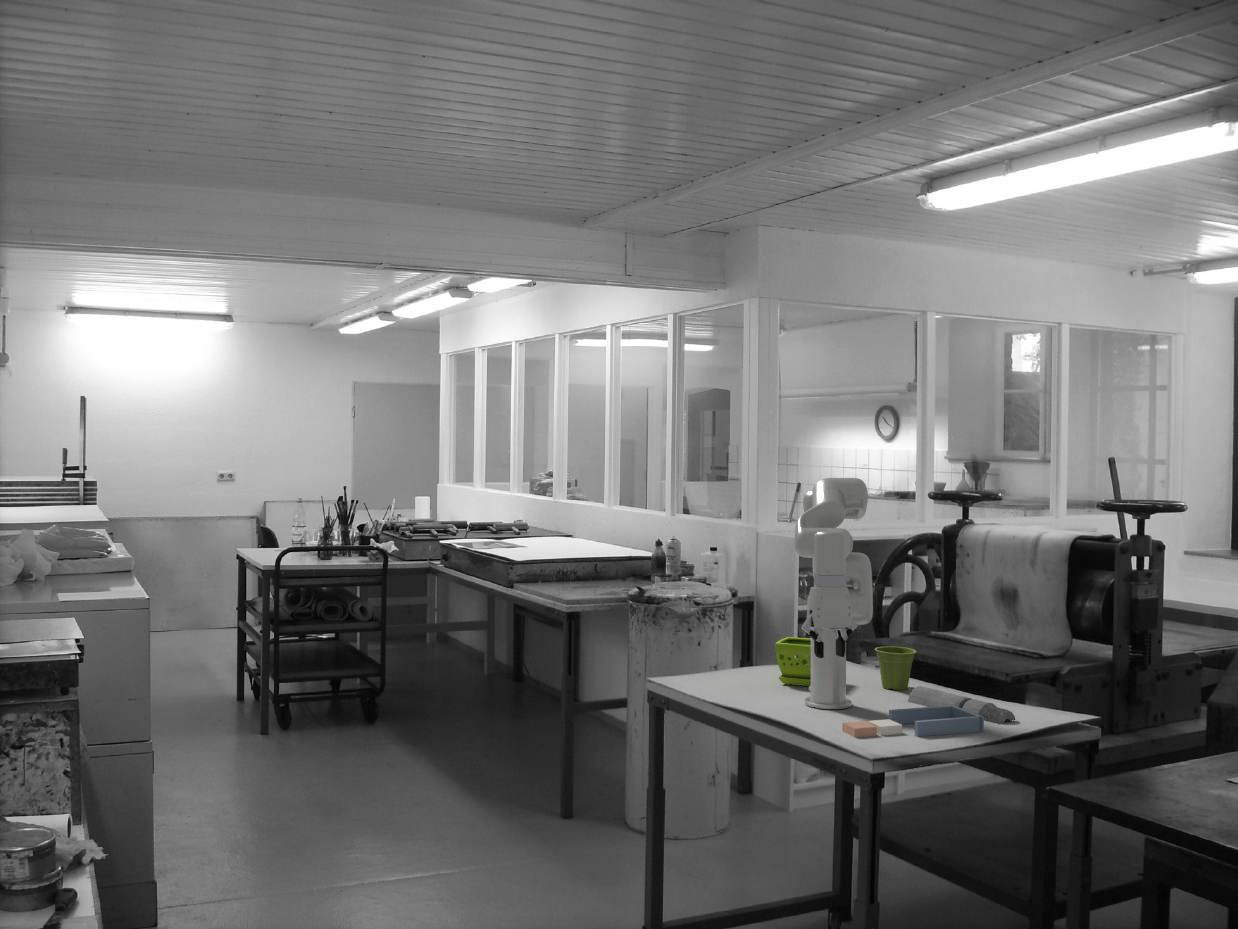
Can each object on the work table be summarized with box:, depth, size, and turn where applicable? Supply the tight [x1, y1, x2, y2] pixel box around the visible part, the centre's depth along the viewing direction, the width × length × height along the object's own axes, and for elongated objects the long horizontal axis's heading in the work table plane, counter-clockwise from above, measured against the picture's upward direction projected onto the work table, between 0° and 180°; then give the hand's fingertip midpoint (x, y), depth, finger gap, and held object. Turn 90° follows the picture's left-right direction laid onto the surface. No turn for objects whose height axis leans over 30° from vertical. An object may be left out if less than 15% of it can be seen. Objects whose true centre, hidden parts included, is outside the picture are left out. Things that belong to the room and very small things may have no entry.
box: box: [888, 705, 985, 737], centre depth 267 cm, size 13×19×4 cm
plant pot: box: [874, 645, 917, 691], centre depth 313 cm, size 12×12×11 cm
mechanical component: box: [907, 685, 1016, 725], centre depth 285 cm, size 9×4×30 cm
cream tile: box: [867, 718, 903, 736], centre depth 263 cm, size 6×6×2 cm
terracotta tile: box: [841, 720, 878, 738], centre depth 261 cm, size 6×6×2 cm
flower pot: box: [774, 636, 811, 687], centre depth 320 cm, size 14×14×13 cm
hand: (829, 656), depth 259 cm, fingers open, 4 cm apart
